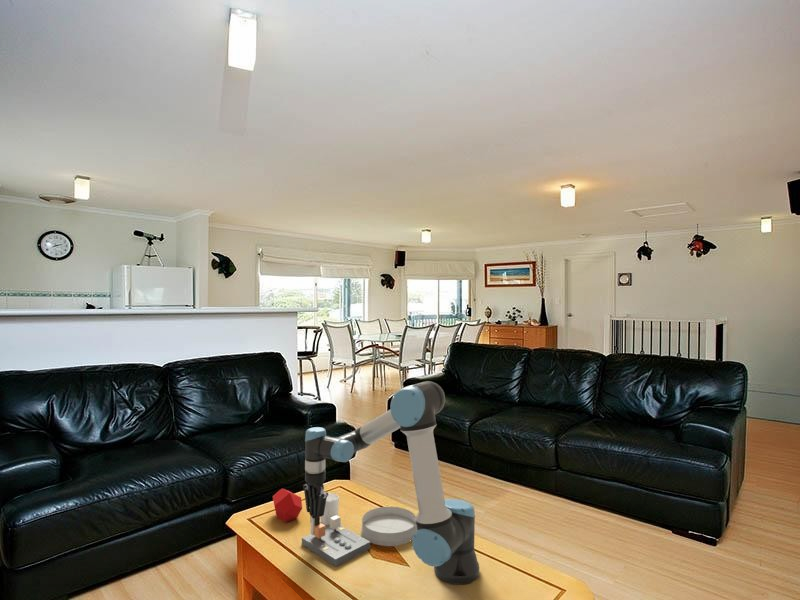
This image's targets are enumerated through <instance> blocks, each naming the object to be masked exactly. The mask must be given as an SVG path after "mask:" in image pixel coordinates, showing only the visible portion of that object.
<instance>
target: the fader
mask: <svg viewBox="0 0 800 600" xmlns="http://www.w3.org/2000/svg"><path fill="white" fill-rule="evenodd" d="M325 527H326V525H324V524H322V523H321V522H320V524H319V525H316V526H314V536H315V537H317V538H319V539H321V537H323V536H325Z"/></svg>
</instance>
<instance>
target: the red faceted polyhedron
mask: <svg viewBox="0 0 800 600" xmlns="http://www.w3.org/2000/svg"><path fill="white" fill-rule="evenodd" d="M272 501H273V505H274V511H275V515H276V519H278V520H280V521H281V522H284V523H287V522H290V521H293V520H296V519H298V518H299V515H300V513H301V511H302V510H303V504H302V503H303V501H302V497H301V496H300V495H297V494H296V493H293V492H292V491H289V490H287V489H285V488H281V489H279V490H278V491H277V492H276V493H274V495H272Z"/></svg>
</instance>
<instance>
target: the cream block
mask: <svg viewBox="0 0 800 600" xmlns="http://www.w3.org/2000/svg"><path fill="white" fill-rule="evenodd" d="M340 525H341V516H337V515H336V516H333V517H331V518H330V525H329V526H330V528H332V529H334V530H335V531H336V528H338V527H340Z"/></svg>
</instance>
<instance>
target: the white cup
mask: <svg viewBox="0 0 800 600" xmlns="http://www.w3.org/2000/svg"><path fill="white" fill-rule="evenodd" d="M339 502H340V496H339V495H338V494H337V493H332V492H328V496H327V498H326V504H325V510H324V515H323V516H321V517H320V524H321V523H322V524H324V525H325V526H330V518H331V517H333V516H336V515H337V516H338V515H339Z"/></svg>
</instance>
